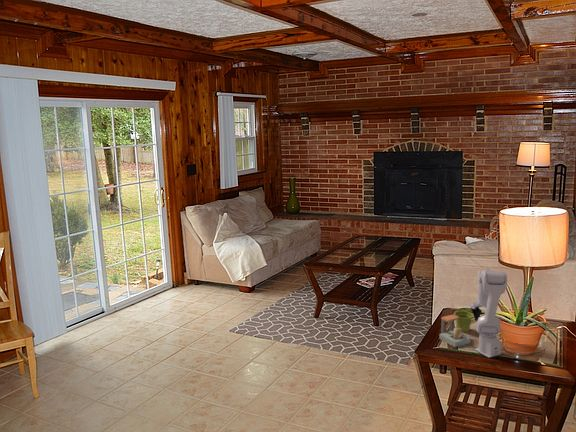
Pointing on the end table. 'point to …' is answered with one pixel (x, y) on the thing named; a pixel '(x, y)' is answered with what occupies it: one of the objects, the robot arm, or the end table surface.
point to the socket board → (449, 339)
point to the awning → (448, 319)
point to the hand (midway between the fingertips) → (482, 319)
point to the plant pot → (463, 320)
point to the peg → (457, 333)
